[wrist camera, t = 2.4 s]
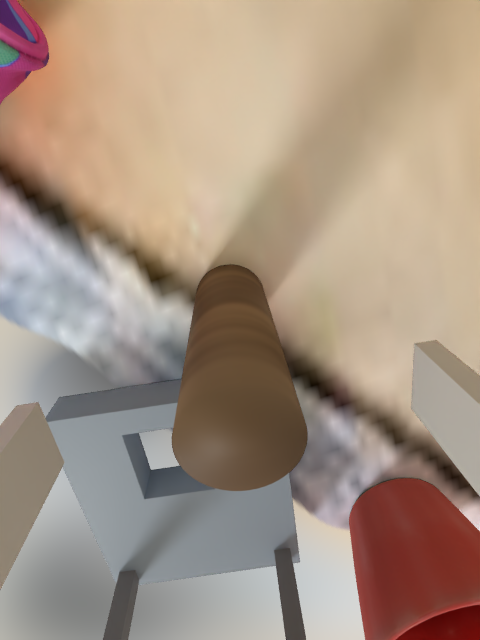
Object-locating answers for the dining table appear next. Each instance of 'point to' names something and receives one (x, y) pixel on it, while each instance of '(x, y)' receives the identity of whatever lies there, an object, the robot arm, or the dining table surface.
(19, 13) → the pencil case
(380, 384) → the dining table surface
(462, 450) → the robot arm
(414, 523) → the flower pot
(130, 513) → the socket board
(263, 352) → the dowel
